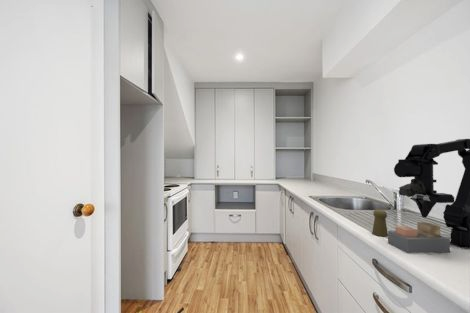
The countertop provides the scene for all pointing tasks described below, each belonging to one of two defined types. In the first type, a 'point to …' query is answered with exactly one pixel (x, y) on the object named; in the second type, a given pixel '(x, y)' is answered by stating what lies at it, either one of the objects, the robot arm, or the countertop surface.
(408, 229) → the terracotta key
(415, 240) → the grey socket block
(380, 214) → the olive brown cylinder
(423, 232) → the oak key
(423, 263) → the countertop surface
